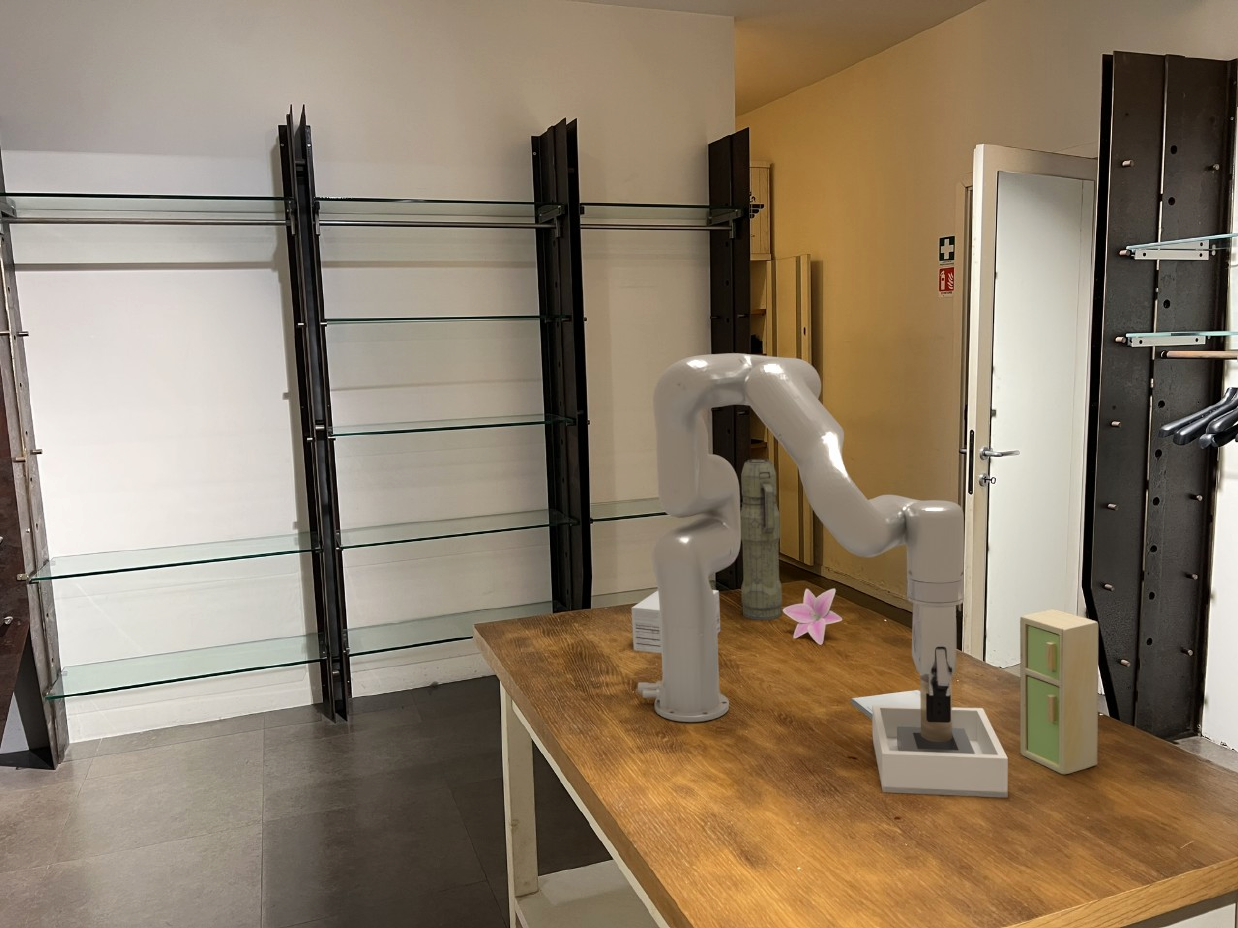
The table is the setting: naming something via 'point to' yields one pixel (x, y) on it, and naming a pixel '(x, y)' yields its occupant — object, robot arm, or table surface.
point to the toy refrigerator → (1059, 690)
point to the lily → (813, 614)
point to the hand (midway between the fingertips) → (935, 713)
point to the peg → (933, 729)
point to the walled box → (939, 754)
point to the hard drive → (886, 701)
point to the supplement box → (653, 623)
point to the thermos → (760, 541)
